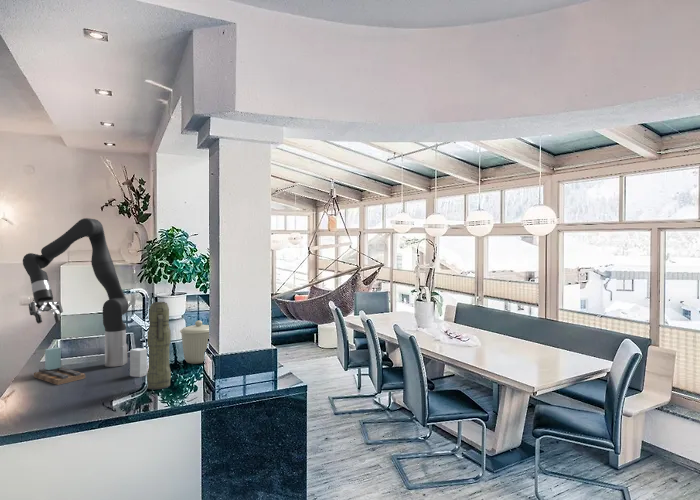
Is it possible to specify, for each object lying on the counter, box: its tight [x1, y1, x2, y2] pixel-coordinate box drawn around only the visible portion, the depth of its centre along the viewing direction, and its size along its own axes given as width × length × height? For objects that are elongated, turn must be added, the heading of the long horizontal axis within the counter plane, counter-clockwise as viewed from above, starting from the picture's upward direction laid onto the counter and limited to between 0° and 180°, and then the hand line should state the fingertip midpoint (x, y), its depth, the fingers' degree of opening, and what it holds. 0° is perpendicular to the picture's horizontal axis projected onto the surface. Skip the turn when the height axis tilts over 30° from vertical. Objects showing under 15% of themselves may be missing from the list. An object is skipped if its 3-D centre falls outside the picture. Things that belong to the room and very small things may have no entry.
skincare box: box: [129, 347, 148, 378], centre depth 192 cm, size 6×4×12 cm
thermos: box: [146, 301, 172, 390], centre depth 177 cm, size 9×12×35 cm
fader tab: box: [44, 346, 62, 372], centre depth 192 cm, size 4×5×10 cm
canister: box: [179, 319, 210, 365], centre depth 217 cm, size 18×18×21 cm
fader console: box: [33, 367, 86, 386], centre depth 189 cm, size 22×11×3 cm, turn 59°
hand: (49, 322), depth 203 cm, fingers open, 8 cm apart
